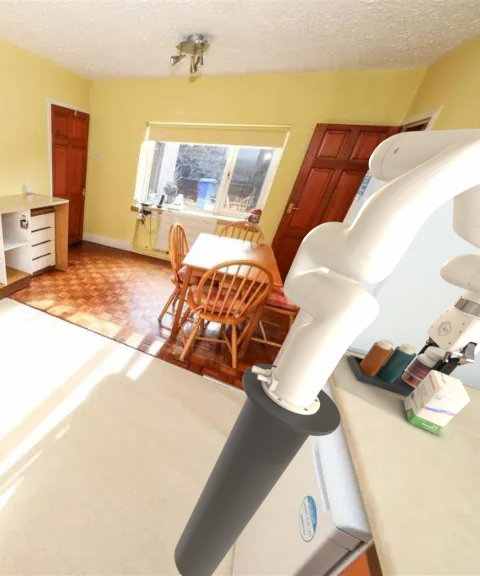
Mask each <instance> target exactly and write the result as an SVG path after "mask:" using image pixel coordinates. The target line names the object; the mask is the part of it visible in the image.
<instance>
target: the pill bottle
mask: <svg viewBox="0 0 480 576" xmlns="http://www.w3.org/2000/svg"><path fill="white" fill-rule="evenodd" d="M424 353H425V354H420V355H417V356H416V357H415V358H414V359H413V361H412V362H411V363H410V364H409V365H408V367H407V368H406V369H405V370H404V371H405V372H404V374H403V375H402V379H403V380H404V381H405V382H406V383H407V384H409V385H410V386H412V387H414V388H416V387H417V386H418V385H419V384H420V383H421V382H422V380H423V379H424V378H425V377H426V376H427V375H428V374H429V372H430V370H431V368H432V367H433V366H434V365H435V364H436V363H437V362H438V360H439V359H441V360H443V357H444V355H445V353H446V351H444V350H443V349H441V348H440V347H439V348H437V347H428V348H427V350H426V351H425V352H424ZM453 357H457V355H456V354H452V356H451V358H453Z"/></svg>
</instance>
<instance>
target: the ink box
mask: <svg viewBox="0 0 480 576" xmlns="http://www.w3.org/2000/svg"><path fill="white" fill-rule="evenodd" d="M470 401H471V399H470V396H469V395H468V393H467V391H466V389H465V387H464V385H463V383H462V381H461V380H460V379H458V378H455V377H453V376H451V375H449V376H448V375H446V374H443V373H441V372H438V371H435V370H431V371H430V372H429V374H428V375H427V376H426V377H425V378H424V379H423V380H422V382H421V383H420V384H419V385H418V386H417V387H416V388H415V389H414V391H413V392H412V393H411V394H410V395H409V396H406V398H405V399H404V400H403V405H404V410H405V413H406V417H407V421H408V423H410V424H412V425H415V426H416V427H418V428H421V429H423V430H424V431H428V432H430V433H432V434H435V435H436V434H438V433H439V432H440V431H441V429H443V428H444V427H445V426H446V425H447V424H449V422H450V421H451V420H452V419H453V418H454V417H455V416H456V415H458V413H459V412H460V411H461V410H462V409H463V408H464V407H465V406H466V405H467V404H469V402H470Z"/></svg>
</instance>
